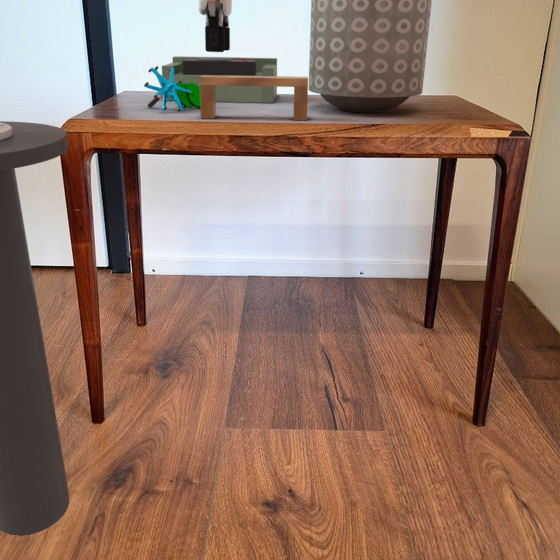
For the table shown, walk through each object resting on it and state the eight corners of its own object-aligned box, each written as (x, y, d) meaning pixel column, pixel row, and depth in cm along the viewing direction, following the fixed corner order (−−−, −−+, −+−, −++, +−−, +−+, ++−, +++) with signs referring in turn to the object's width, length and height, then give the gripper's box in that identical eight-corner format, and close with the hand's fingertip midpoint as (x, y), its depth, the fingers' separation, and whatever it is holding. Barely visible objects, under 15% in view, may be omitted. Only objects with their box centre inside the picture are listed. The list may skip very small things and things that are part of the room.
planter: (430, 118, 93) (445, -11, 86) (309, 116, 93) (313, -13, 86) (409, 103, 110) (419, -6, 103) (306, 101, 111) (310, -8, 103)
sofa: (272, 103, 108) (273, 61, 105) (163, 100, 108) (161, 59, 106) (276, 95, 118) (277, 58, 115) (177, 93, 119) (175, 56, 116)
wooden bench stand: (200, 118, 90) (199, 76, 87) (203, 115, 93) (202, 75, 90) (306, 120, 90) (308, 78, 87) (306, 117, 92) (307, 76, 90)
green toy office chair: (157, 99, 91) (147, 55, 93) (132, 122, 96) (123, 79, 97) (216, 115, 100) (206, 74, 102) (191, 135, 104) (182, 96, 106)
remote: (182, 74, 107) (182, 59, 106) (187, 72, 112) (186, 57, 111) (254, 75, 107) (254, 60, 106) (256, 73, 112) (256, 58, 111)
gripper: (201, -51, 109) (204, 49, 116) (186, -65, 93) (189, 52, 100) (242, -50, 109) (242, 50, 116) (234, -64, 93) (234, 53, 100)
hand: (218, 51), depth 108 cm, fingers open, 9 cm apart
